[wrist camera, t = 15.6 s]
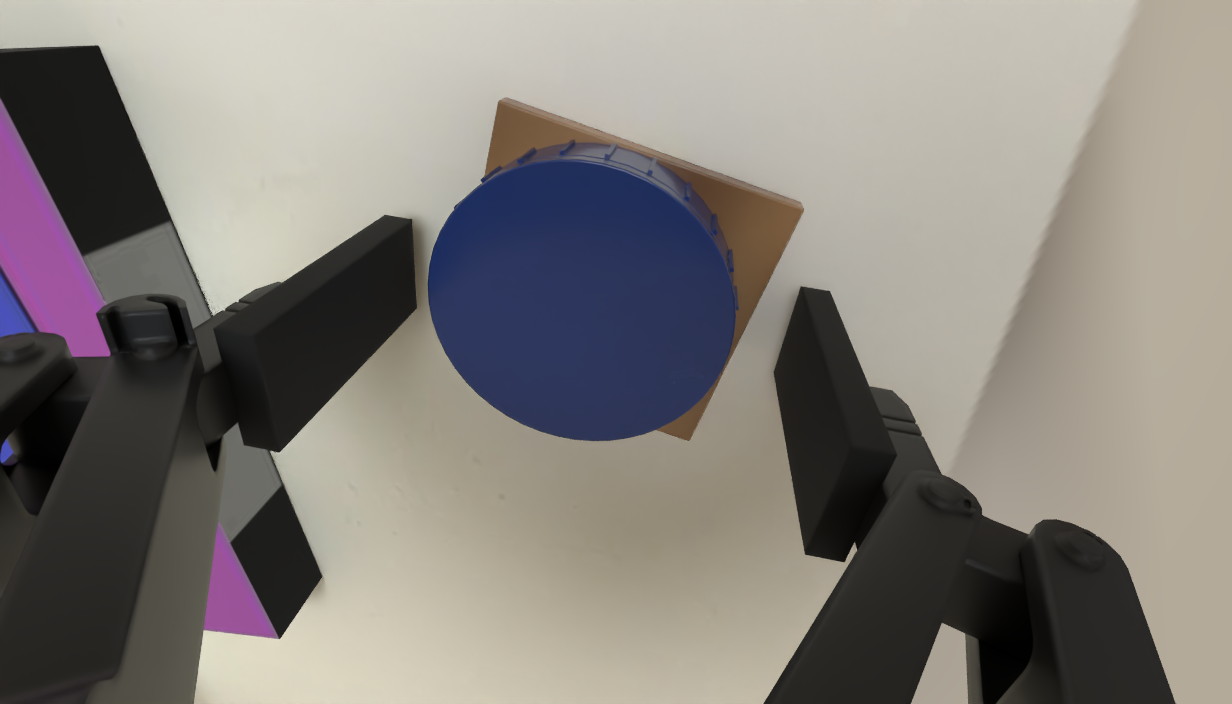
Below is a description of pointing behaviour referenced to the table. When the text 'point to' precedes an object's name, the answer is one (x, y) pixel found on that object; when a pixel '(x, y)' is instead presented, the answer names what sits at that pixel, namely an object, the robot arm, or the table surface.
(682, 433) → the cork mat
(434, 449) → the table surface
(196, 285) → the book
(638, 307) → the lid
